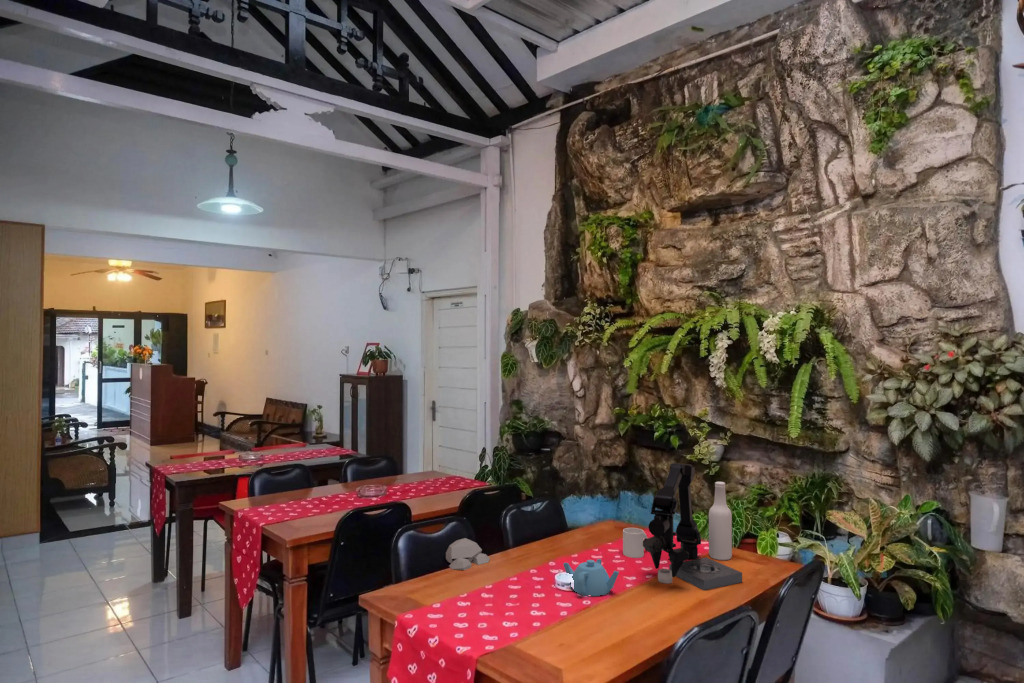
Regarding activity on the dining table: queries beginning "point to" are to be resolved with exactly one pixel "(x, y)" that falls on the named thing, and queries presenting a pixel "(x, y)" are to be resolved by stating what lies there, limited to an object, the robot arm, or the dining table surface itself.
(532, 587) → the dining table surface
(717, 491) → the alcohol
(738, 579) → the dark grey square base
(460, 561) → the rock
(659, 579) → the cap
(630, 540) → the mug
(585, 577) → the teapot
